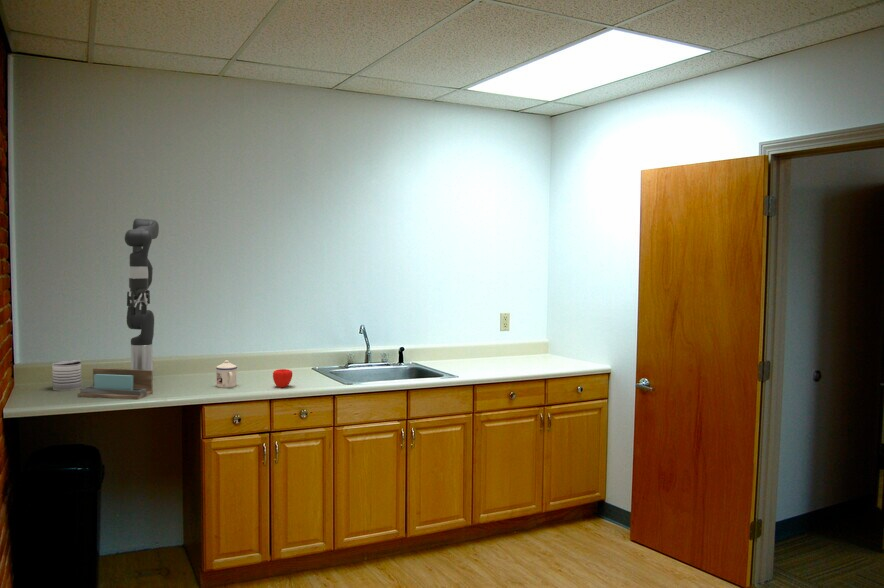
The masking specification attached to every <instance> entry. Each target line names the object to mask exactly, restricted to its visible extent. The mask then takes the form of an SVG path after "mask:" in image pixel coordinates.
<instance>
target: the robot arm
mask: <svg viewBox="0 0 884 588" xmlns="http://www.w3.org/2000/svg"><path fill="white" fill-rule="evenodd" d="M159 227H160V226H159V223H158V221H157V220H156V219H155V220H154V219H149V218H148V219H147V218H135V219H134V220H133V223H132V228H131V229H128V230H127V231H126V232H125V235H124V242H125V244H126V245H127V246H128V247H132V252H131V253H129V268H128V287H129V291H127V292H126V293H127V294H126V306H127V312H126V326H127V328H128V329H130V330H140V333H139V335H137V336H135V337H132V338H131V339H130V369H131V370H153V371H154V361H153V339H154V337H155V333H154V330H155V315H154V312H153V311H152V310H150V309H148V307H147V306H148V305H149V304H151V294H150V291H151V290H150V289H149V288H150V286H151V284H152V281H153V272H154V271H153V269H154V268H153V265H152V263H151V261H150V260H149V258H148V257H149V250H150V247H151V244H152V241H153V240H155V239H156V238H158V236H159V234H160V233H159V232H160V231H159V230H160V229H159Z"/></svg>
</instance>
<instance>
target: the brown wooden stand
mask: <svg viewBox="0 0 884 588" xmlns="http://www.w3.org/2000/svg"><path fill="white" fill-rule="evenodd" d="M95 374H110V375H133V390H112V389H94V375H95ZM153 380H154V369H153V370H131V368H130V369H129V368H128V369H127V368H105V367H103V368H102V367H93V368H92V385H91V386H90V385H88V386H84V387H81V388H79V390H80V391H79V392H80V393H79V392H78V393H77V397H78V396H83V397H82V398H96V397H101V398H102V399H118V398H119V399H120V400H121V399H122V400H123V399H124V400H139V399H142V398H145V397H147V396H149V395H150V396H151V395H153V393H154V391H153V390H154V389H153V386H154V385H153Z"/></svg>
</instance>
